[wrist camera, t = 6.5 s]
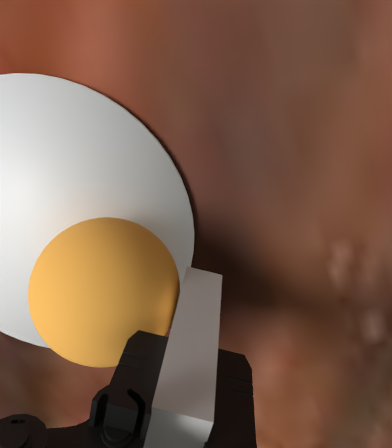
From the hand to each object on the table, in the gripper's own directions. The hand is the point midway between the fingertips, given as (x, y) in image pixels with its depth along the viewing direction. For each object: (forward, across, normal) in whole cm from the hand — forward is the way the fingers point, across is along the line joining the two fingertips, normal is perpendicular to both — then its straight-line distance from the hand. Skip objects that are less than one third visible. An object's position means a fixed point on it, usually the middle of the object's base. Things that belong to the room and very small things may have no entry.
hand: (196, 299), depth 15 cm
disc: (+2, -7, 0) cm, 7 cm away
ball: (-1, -3, 0) cm, 3 cm away
